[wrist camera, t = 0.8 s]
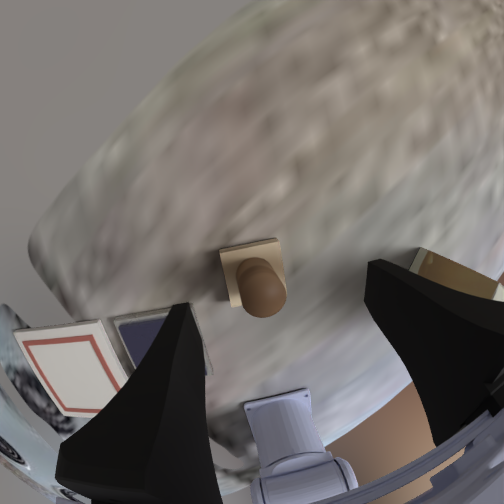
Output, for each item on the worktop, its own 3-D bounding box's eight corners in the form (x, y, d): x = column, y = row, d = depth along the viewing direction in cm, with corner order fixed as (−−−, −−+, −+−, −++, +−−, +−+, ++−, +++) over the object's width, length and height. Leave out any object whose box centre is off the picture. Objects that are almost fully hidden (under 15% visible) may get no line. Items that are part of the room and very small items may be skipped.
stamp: (283, 288, 26) (301, 319, 20) (230, 300, 25) (235, 334, 20) (275, 237, 24) (294, 256, 18) (219, 248, 24) (221, 271, 18)
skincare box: (445, 265, 28) (517, 301, 16) (430, 295, 29) (497, 341, 17) (418, 244, 26) (501, 281, 15) (401, 279, 27) (478, 329, 16)
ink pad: (213, 368, 27) (213, 377, 26) (144, 377, 26) (141, 386, 25) (192, 303, 25) (191, 310, 23) (116, 316, 24) (111, 323, 23)
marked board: (148, 413, 28) (147, 418, 27) (65, 412, 27) (63, 416, 26) (100, 319, 24) (96, 323, 23) (16, 329, 23) (12, 333, 22)
